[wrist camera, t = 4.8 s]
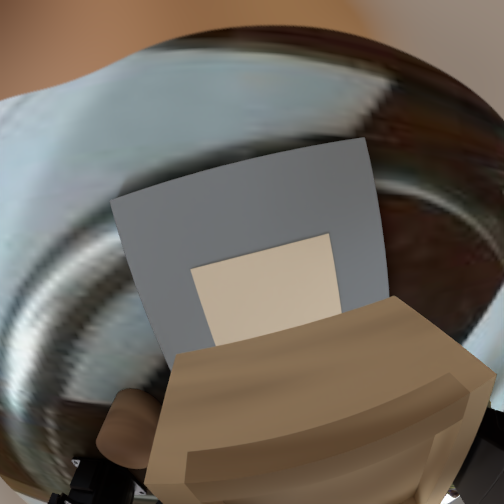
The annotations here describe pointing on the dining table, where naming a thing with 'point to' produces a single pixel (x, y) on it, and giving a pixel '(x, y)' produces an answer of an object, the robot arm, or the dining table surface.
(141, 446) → the walnut peg
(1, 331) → the dining table surface
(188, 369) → the oak socket block
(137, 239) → the grey rectangular plate
